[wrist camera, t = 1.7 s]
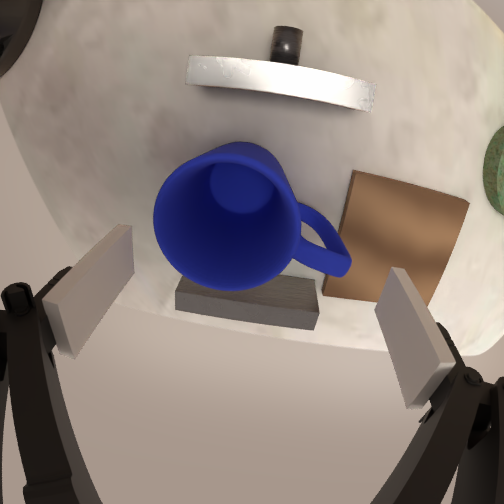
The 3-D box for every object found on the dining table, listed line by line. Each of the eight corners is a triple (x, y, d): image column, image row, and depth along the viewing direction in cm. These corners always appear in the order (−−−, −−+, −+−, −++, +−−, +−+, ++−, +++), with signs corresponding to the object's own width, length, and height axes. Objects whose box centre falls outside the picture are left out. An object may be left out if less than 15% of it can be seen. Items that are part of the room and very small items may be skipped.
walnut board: (353, 169, 24) (356, 172, 23) (464, 199, 24) (469, 203, 23) (321, 289, 30) (322, 295, 29) (423, 302, 30) (426, 307, 29)
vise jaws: (210, 29, 20) (195, 14, 15) (362, 52, 20) (382, 43, 15) (189, 278, 31) (175, 309, 26) (309, 296, 30) (313, 330, 26)
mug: (308, 254, 28) (319, 328, 20) (182, 205, 27) (139, 262, 18) (350, 175, 25) (388, 221, 16) (213, 117, 23) (175, 131, 14)
